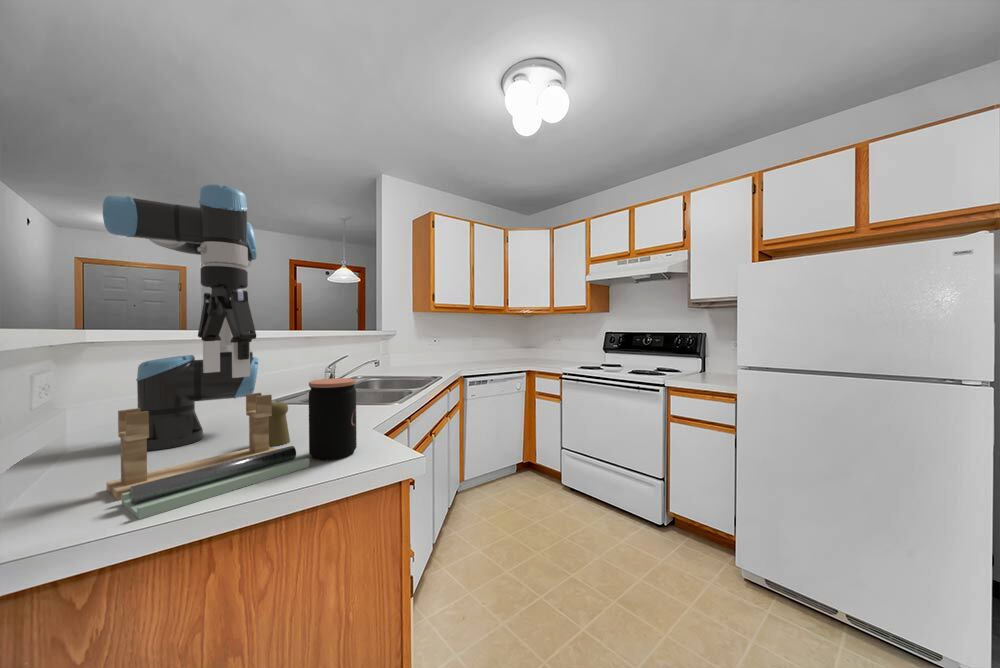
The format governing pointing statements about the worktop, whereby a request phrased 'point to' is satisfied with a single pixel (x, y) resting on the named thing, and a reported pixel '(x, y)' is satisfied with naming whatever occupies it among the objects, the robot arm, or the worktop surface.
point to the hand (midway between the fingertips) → (225, 374)
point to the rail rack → (135, 463)
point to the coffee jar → (332, 418)
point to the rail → (208, 474)
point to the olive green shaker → (278, 425)
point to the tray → (210, 489)
